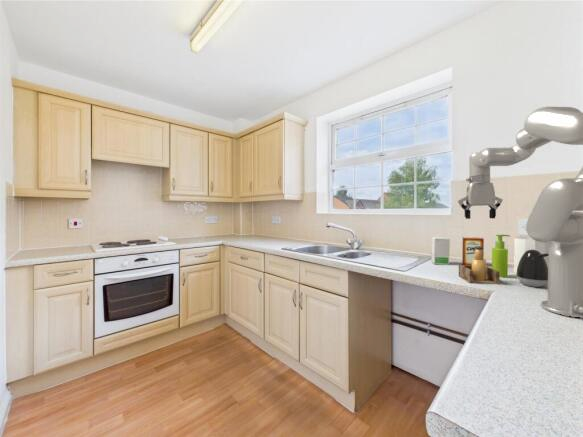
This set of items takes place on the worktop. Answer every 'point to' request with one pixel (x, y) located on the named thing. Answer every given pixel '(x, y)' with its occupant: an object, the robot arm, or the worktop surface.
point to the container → (528, 248)
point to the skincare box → (440, 250)
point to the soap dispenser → (500, 257)
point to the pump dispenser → (533, 269)
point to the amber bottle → (479, 265)
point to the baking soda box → (470, 248)
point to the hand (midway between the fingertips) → (479, 218)
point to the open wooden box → (467, 275)
